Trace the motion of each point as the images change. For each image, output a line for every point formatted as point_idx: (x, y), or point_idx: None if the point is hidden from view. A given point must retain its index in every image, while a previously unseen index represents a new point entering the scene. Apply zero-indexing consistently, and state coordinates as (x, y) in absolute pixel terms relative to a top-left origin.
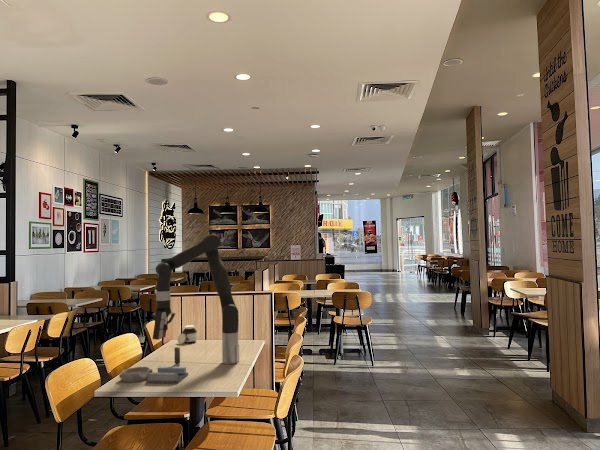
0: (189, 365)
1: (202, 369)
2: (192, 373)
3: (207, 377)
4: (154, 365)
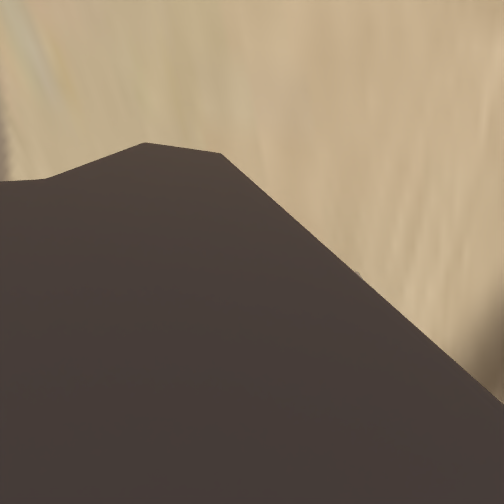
0: (405, 83)
1: (486, 215)
2: (422, 299)
3: (494, 379)
4: (135, 38)
